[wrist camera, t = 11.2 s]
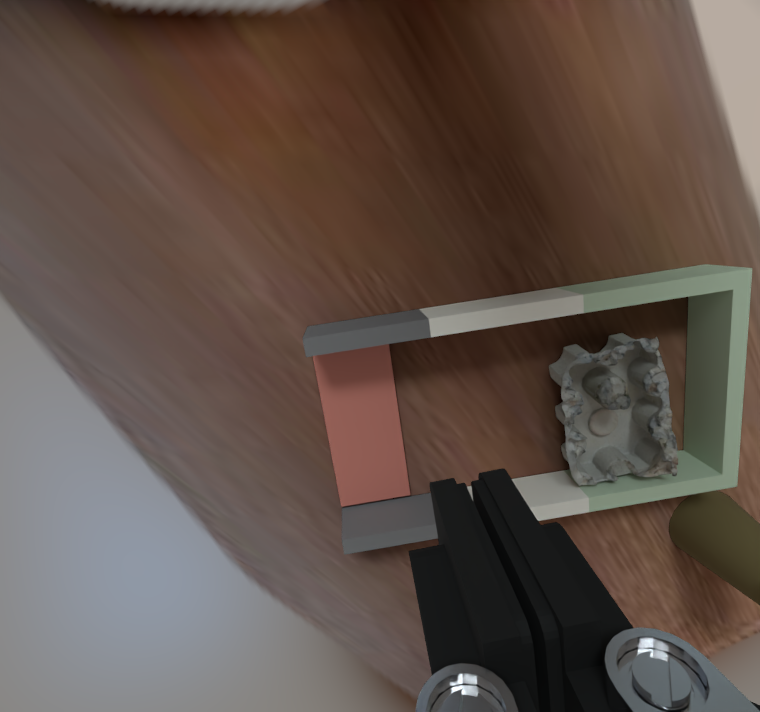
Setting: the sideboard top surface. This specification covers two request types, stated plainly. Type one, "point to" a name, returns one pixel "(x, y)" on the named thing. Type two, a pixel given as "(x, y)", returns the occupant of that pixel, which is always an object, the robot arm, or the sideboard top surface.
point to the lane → (544, 491)
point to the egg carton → (615, 411)
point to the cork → (720, 539)
